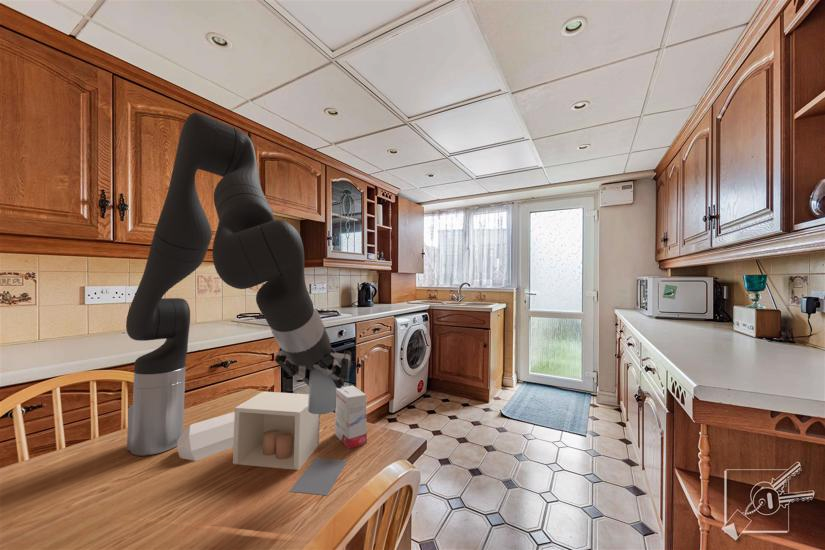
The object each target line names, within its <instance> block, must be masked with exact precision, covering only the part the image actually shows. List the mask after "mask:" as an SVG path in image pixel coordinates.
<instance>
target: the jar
mask: <svg viewBox="0 0 825 550" xmlns="http://www.w3.org/2000/svg"><path fill="white" fill-rule="evenodd" d="M337 362H338V361H337ZM334 372H335V369H334ZM336 392H337V387H336V385H335V383H334V381H333V378H332V377H331V376H326V375H324V374H323V373H322V372H321V371H320V370H317V369H312V370H311V369H310V371H309V386H308V394H309V398H308V411H309V412H310V413H312V414H320V415H326V414H330V413H333V412H334V411H335V409H336Z"/></svg>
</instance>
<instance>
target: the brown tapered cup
mask: <svg viewBox="0 0 825 550" xmlns="http://www.w3.org/2000/svg"><path fill="white" fill-rule="evenodd" d="M279 434H280V431H279V430H269V431H266V432H265V433H264V437H263V454H264V455H273V454H276V437H277V436H278V435H279Z"/></svg>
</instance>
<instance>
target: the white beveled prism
mask: <svg viewBox="0 0 825 550" xmlns="http://www.w3.org/2000/svg"><path fill="white" fill-rule="evenodd" d="M234 416H235V411H232V412H229V413H226V414H222V415H219V416H215V417H212V418H208V419H206V420H202V421H198V422H194V423H191V424H190V425H188V426H187V427H185V428H183V432H182V434H181V435H180V437H179V439H178V444H177V446H176V448H177V453H178V456H179V458H180V459H182V460H183V459H184V460H189V461H194V462H198V461H199V460H202V459H205V458H207V457H210V456H212V455H215V454H218V453H221V452H224V451H227V450H229V449H232V448H233V445H234Z"/></svg>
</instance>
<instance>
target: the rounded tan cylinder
mask: <svg viewBox="0 0 825 550" xmlns="http://www.w3.org/2000/svg"><path fill="white" fill-rule="evenodd" d="M291 455H292V434H291V433H282V434H279V435H278V436H277V437H276V458H277V459H286V458H289V457H290V456H291Z"/></svg>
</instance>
